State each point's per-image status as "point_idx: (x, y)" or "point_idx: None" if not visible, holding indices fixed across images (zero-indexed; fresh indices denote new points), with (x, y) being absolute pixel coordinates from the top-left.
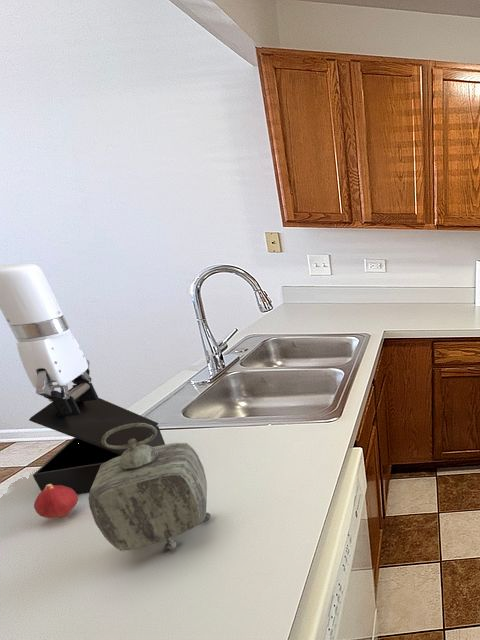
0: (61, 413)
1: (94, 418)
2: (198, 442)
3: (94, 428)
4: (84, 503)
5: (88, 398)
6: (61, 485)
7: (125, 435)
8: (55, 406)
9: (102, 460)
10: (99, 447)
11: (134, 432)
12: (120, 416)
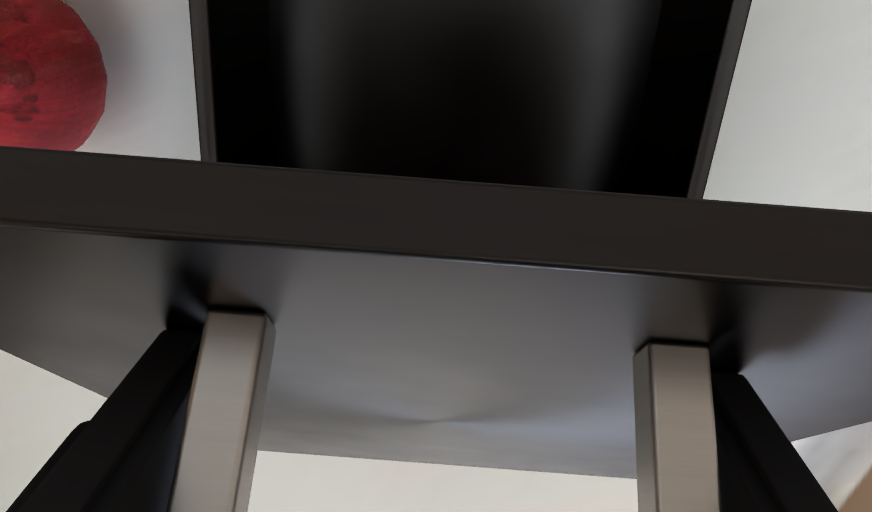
0: (82, 426)
1: (422, 409)
2: (580, 478)
3: (280, 408)
4: (160, 112)
5: None
6: (12, 125)
7: (369, 446)
8: (65, 457)
9: (602, 49)
10: (679, 49)
11: (443, 454)
12: (594, 445)
